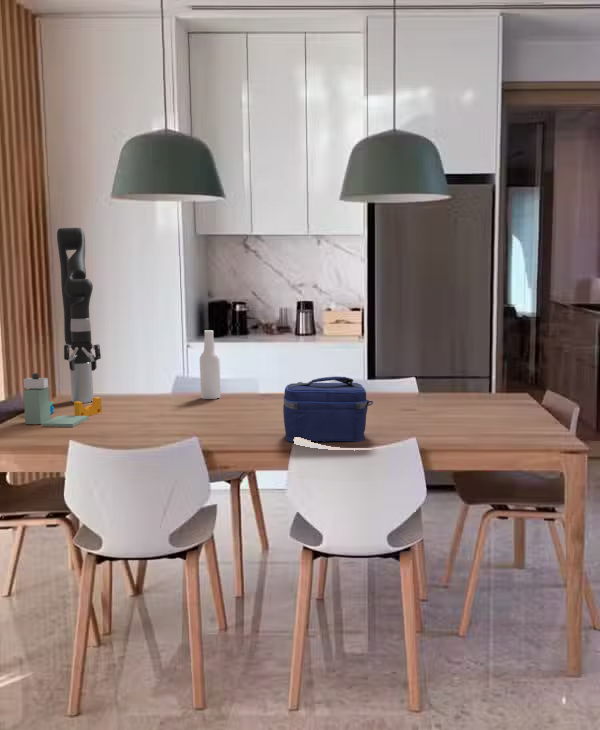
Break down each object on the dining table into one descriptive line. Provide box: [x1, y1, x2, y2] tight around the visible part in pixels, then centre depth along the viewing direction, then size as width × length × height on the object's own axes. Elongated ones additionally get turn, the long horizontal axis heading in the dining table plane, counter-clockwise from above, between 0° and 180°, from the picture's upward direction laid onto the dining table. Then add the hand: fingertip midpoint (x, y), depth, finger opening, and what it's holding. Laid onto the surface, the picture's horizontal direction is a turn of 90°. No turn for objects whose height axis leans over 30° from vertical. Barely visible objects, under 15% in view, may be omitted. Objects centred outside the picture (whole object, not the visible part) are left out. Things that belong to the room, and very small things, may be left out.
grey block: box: [23, 372, 49, 389], centre depth 305 cm, size 4×8×5 cm, turn 83°
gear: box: [50, 401, 55, 415], centre depth 324 cm, size 11×6×10 cm
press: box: [23, 386, 89, 428], centre depth 305 cm, size 15×20×13 cm
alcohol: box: [199, 329, 222, 400], centre depth 351 cm, size 9×9×30 cm
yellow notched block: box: [73, 396, 103, 417], centre depth 319 cm, size 12×4×6 cm, turn 149°
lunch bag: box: [282, 376, 374, 443], centre depth 275 cm, size 31×21×20 cm
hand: (83, 370), depth 318 cm, fingers open, 8 cm apart
